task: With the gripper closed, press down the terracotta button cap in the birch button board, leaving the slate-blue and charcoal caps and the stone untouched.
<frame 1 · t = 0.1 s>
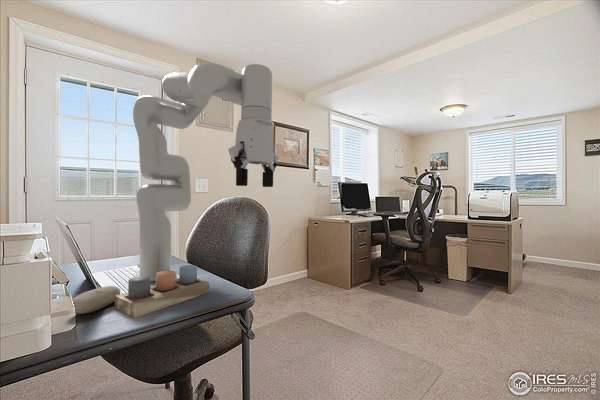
hand: (255, 186, 72), 31 cm above the table, fingers open, 9 cm apart
slate button: (188, 274, 83), point 5 cm above the table, slide at 0.0 cm
stone: (96, 309, 71), on the table
terracotta button: (165, 280, 77), point 5 cm above the table, slide at 0.0 cm
charcoal button: (139, 286, 72), point 5 cm above the table, slide at 0.0 cm
birch board: (165, 299, 78), on the table
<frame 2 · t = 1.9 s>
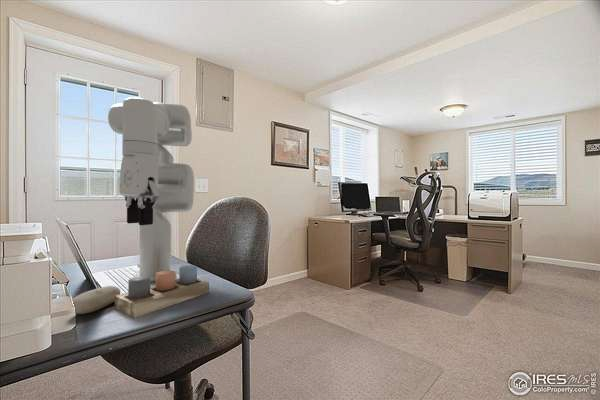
hand: (139, 223, 71), 21 cm above the table, fingers open, 4 cm apart
nothing on the table moved.
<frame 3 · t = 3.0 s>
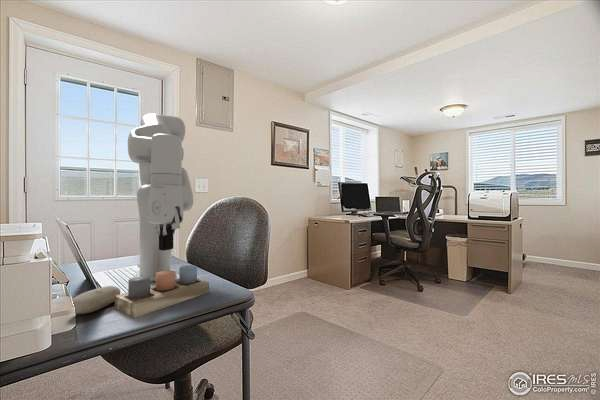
hand: (166, 249, 77), 14 cm above the table, fingers closed
nothing on the table moved.
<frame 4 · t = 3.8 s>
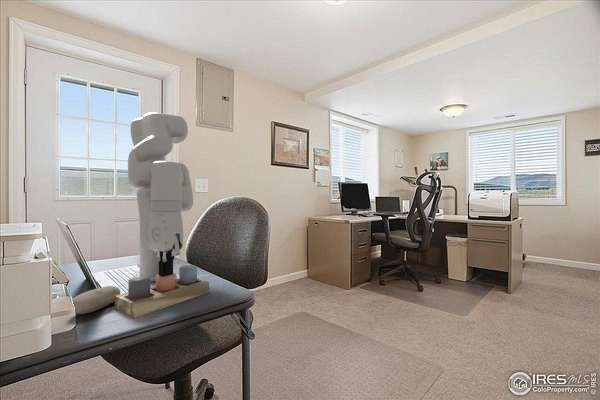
hand: (165, 275, 77), 7 cm above the table, fingers closed
terracotta button: (165, 282, 77), point 5 cm above the table, slide at 0.6 cm, touching gripper
everything else where it was.
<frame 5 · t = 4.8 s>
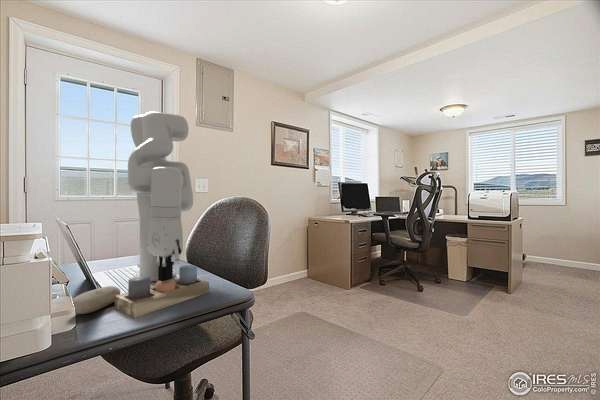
hand: (165, 279, 78), 5 cm above the table, fingers closed
terracotta button: (165, 289, 77), point 3 cm above the table, slide at 2.6 cm
everything else where it was.
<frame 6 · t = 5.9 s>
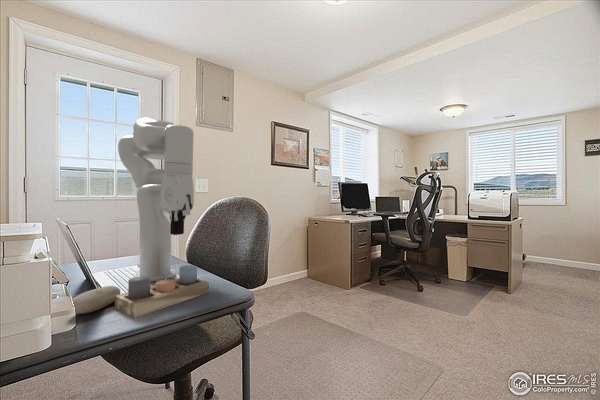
hand: (177, 234, 82), 17 cm above the table, fingers closed
nothing on the table moved.
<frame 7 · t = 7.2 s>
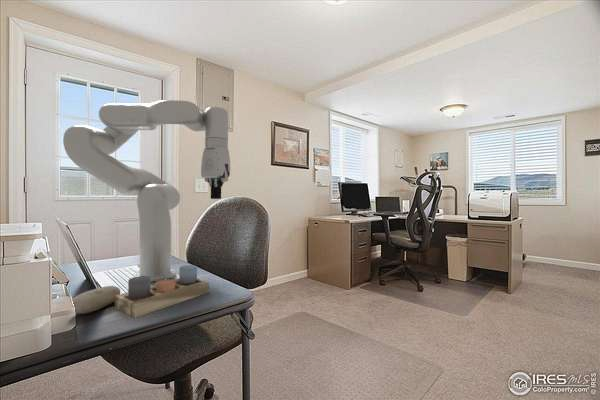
hand: (215, 198, 98), 27 cm above the table, fingers closed
nothing on the table moved.
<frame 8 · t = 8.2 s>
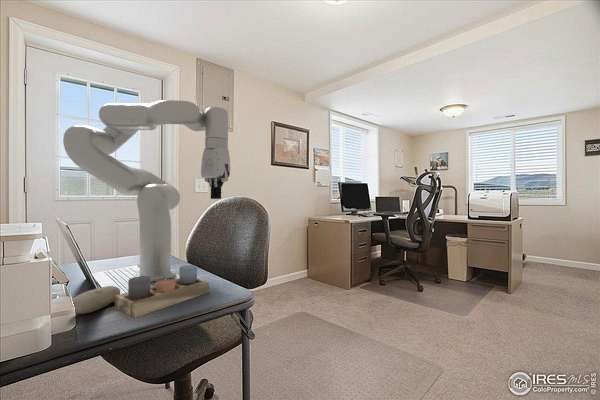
hand: (215, 198, 98), 27 cm above the table, fingers closed
nothing on the table moved.
at the end: terracotta button slide at 2.6 cm; charcoal button slide at 0.0 cm; slate button slide at 0.0 cm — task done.
